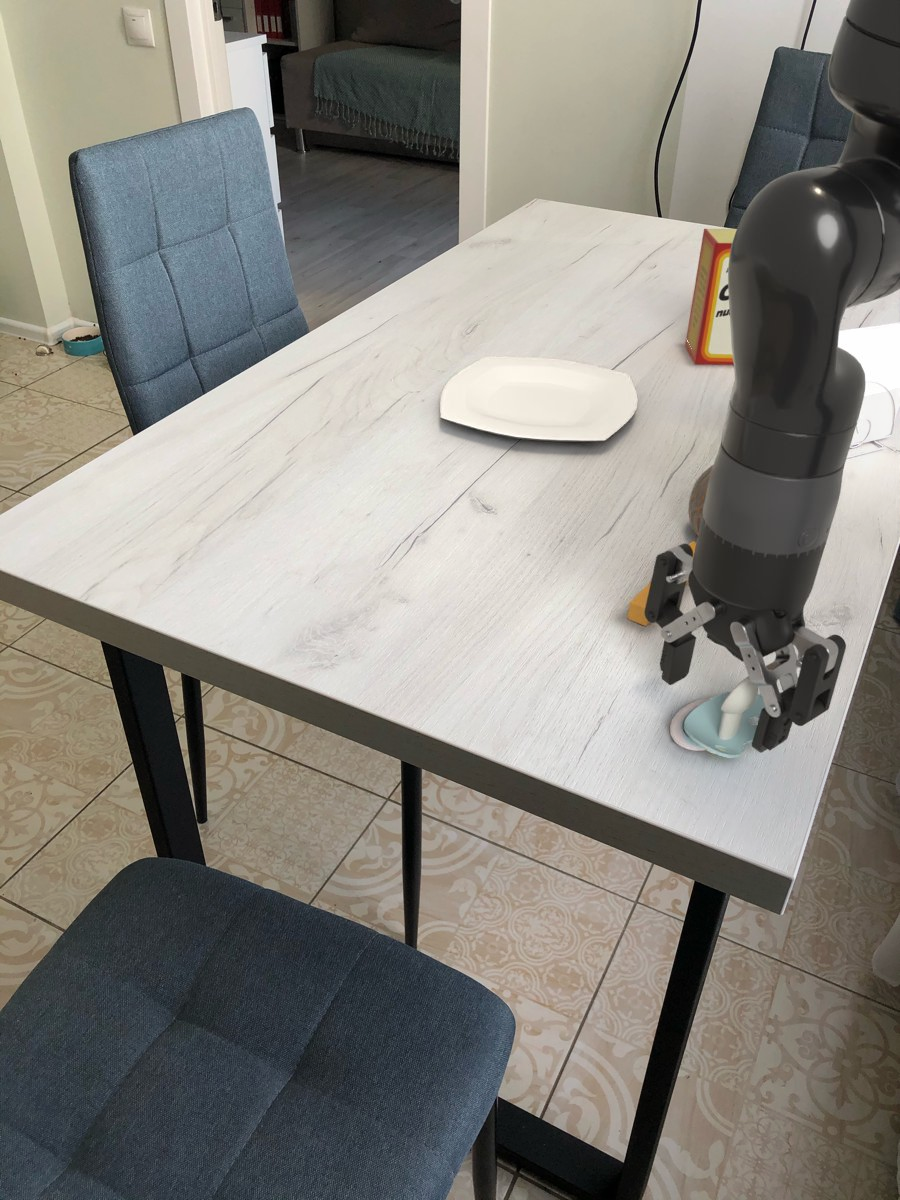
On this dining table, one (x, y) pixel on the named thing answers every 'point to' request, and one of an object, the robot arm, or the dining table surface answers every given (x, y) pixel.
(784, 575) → the robot arm
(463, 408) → the plate
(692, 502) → the vase
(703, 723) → the pacifier
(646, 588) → the wooden stick
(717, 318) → the baking soda box
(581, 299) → the dining table surface
